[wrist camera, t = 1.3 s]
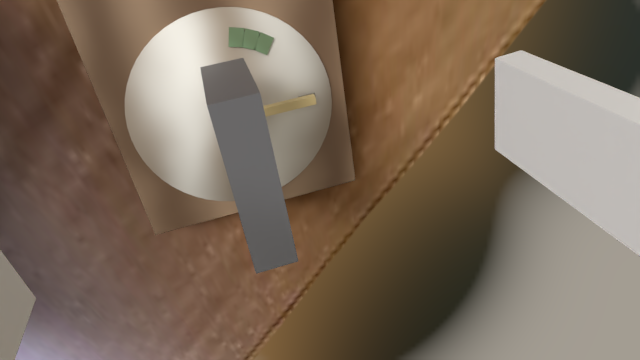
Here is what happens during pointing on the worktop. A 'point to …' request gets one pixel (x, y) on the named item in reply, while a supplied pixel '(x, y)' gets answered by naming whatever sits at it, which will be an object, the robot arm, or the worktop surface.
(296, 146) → the tuner board
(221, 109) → the peg knob
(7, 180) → the worktop surface
